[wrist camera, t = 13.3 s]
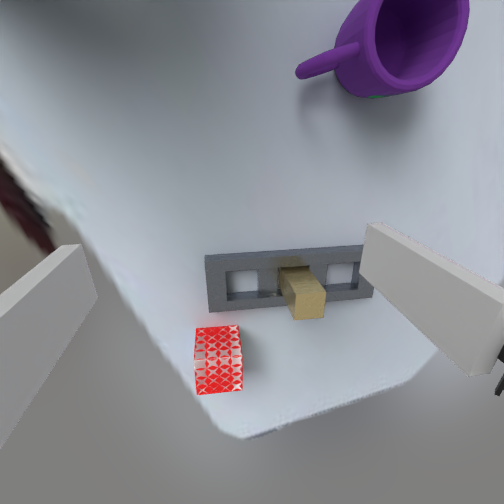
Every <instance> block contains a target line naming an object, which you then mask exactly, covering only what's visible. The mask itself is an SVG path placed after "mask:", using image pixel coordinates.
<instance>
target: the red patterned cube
mask: <svg viewBox="0 0 504 504" xmlns="http://www.w3.org/2000/svg"><path fill="white" fill-rule="evenodd" d="M194 370H195V380H196V390H197V395H204V394H212V393H221V392H230V391H239V390H243V356H242V349H241V342H240V335H239V328H238V325H233V326H222V327H209V328H196V337H195V349H194Z"/></svg>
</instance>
